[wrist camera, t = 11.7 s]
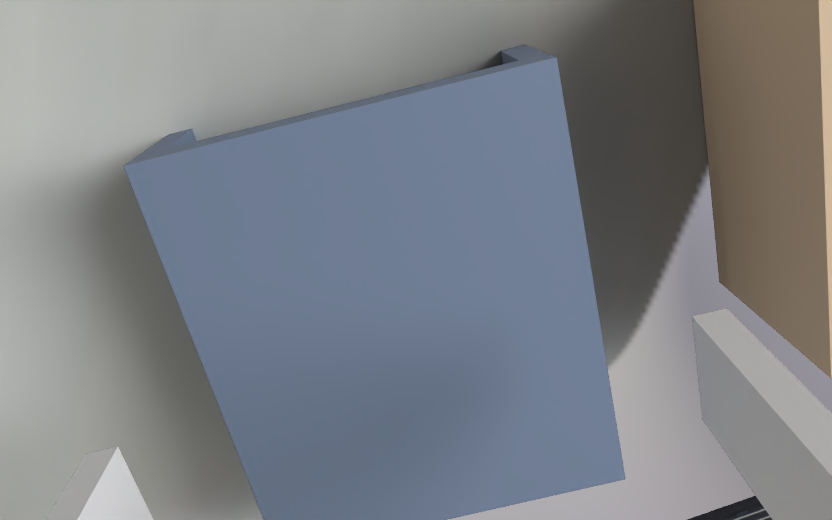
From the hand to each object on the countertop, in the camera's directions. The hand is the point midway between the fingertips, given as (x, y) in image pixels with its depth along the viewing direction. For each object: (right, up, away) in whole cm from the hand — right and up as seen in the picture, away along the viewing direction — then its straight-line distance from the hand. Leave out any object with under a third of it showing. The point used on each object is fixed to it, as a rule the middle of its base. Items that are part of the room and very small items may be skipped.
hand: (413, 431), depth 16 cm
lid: (-1, +3, +10) cm, 10 cm away
